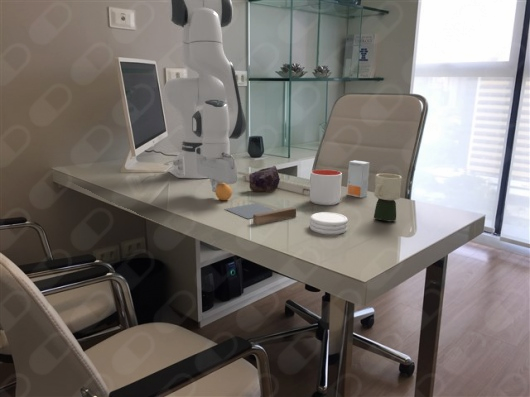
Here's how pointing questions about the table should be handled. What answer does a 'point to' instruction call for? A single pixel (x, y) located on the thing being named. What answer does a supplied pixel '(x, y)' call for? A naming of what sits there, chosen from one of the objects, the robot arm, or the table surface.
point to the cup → (325, 187)
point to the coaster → (328, 223)
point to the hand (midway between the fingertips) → (216, 192)
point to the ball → (223, 192)
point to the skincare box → (358, 178)
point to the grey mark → (249, 210)
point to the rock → (264, 180)
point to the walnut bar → (274, 215)
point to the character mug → (387, 196)
